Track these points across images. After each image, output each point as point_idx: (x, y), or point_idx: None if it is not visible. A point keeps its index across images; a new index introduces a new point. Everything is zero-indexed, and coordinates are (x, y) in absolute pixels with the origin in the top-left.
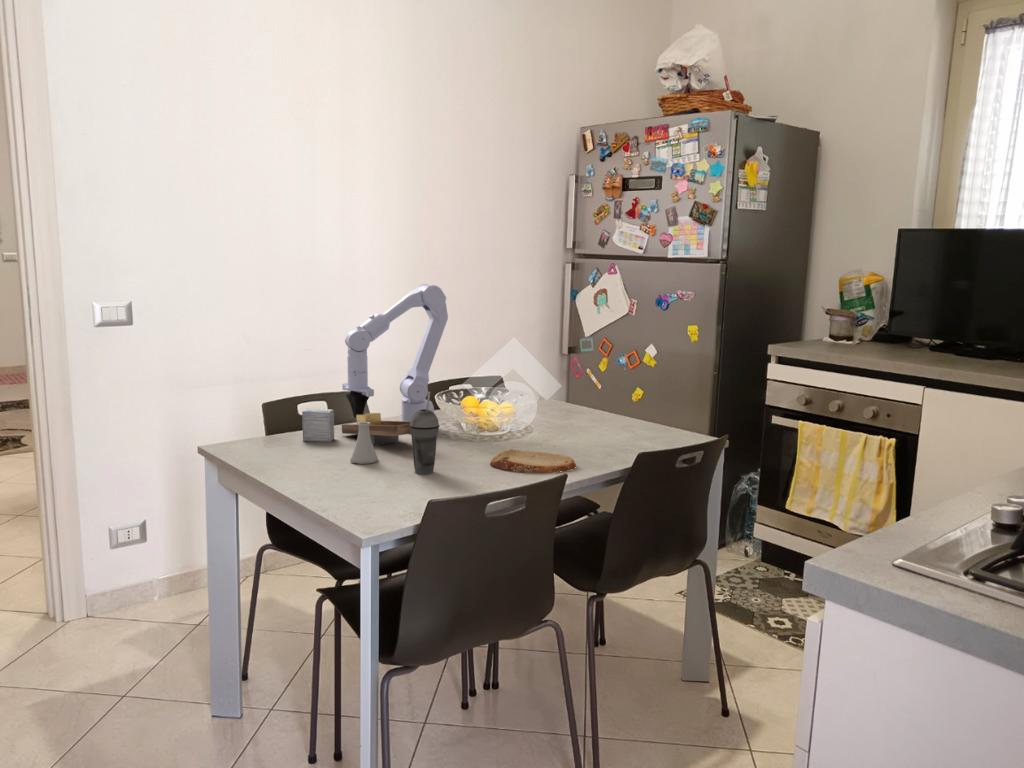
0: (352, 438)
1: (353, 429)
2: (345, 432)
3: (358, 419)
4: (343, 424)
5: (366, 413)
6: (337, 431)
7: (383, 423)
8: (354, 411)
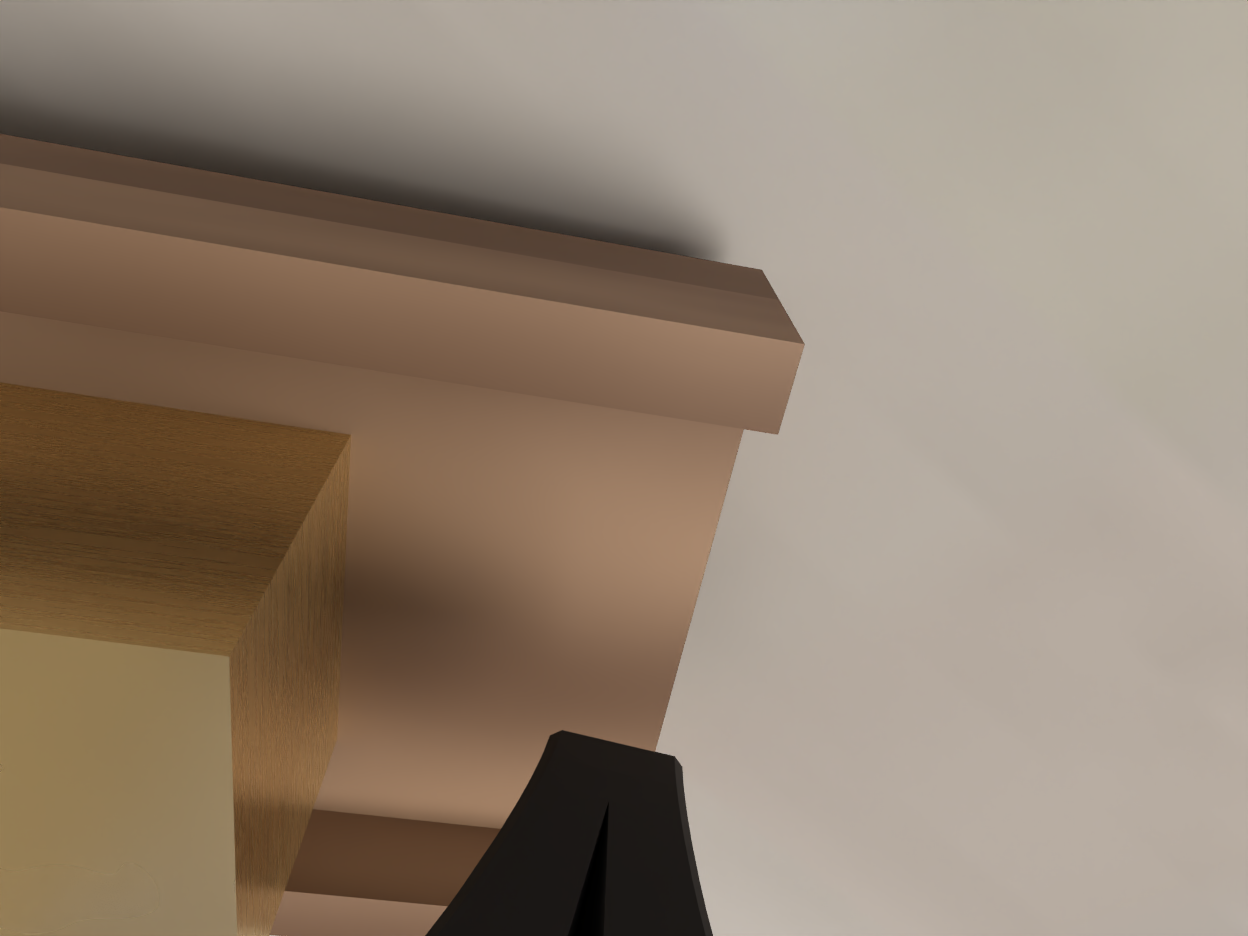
0: None
1: (153, 191)
2: (606, 247)
3: (165, 543)
4: (733, 361)
5: (231, 921)
6: (1160, 479)
7: None
8: (547, 871)
